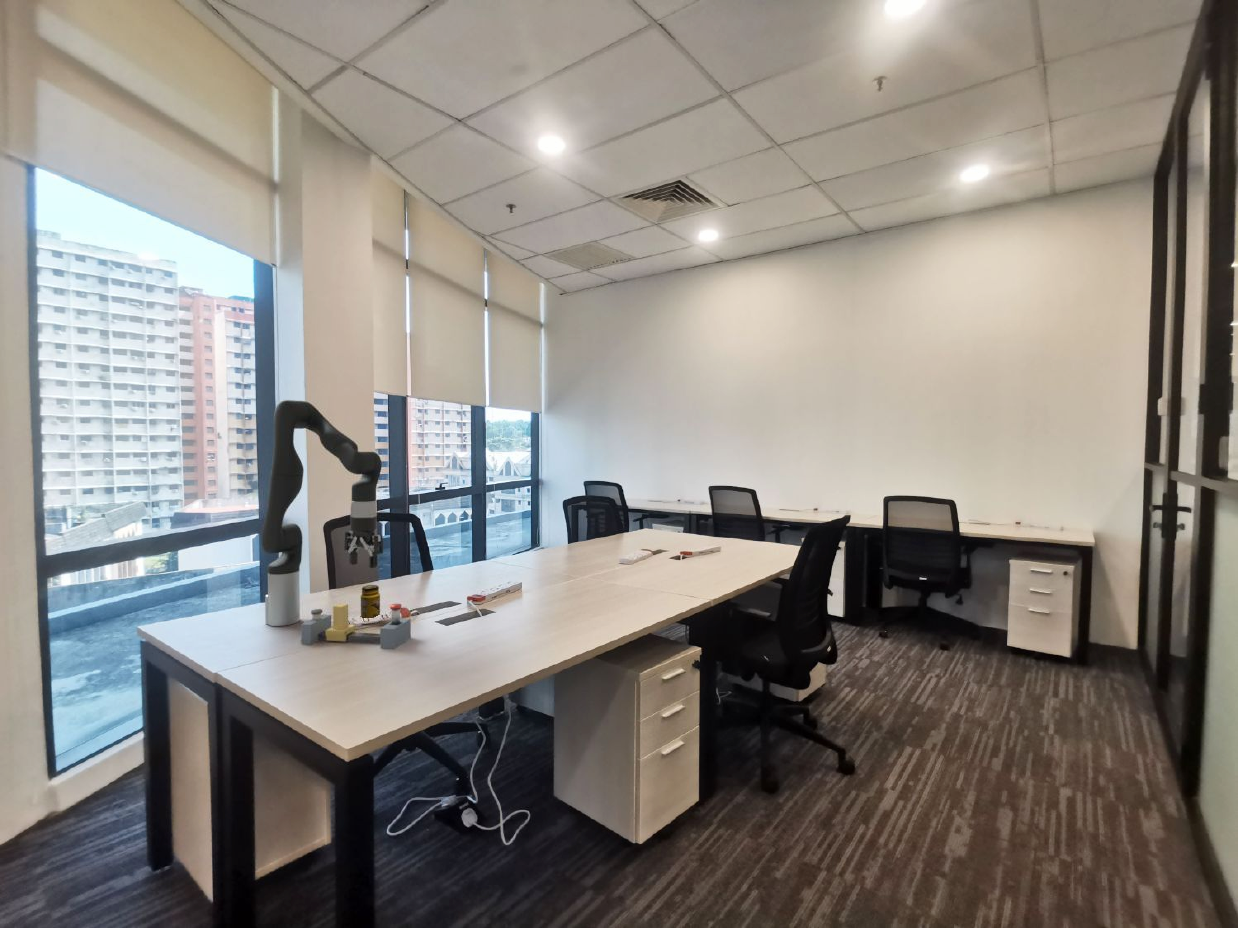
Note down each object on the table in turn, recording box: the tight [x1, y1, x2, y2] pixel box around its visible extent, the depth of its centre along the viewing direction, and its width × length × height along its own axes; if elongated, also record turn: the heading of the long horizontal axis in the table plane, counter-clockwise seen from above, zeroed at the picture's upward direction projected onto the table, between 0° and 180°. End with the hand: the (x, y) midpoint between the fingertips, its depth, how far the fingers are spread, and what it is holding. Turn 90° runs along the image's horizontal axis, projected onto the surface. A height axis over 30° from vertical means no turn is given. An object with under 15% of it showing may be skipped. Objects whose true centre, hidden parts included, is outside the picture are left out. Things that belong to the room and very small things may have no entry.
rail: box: [318, 631, 380, 645], centre depth 172 cm, size 22×3×2 cm, turn 83°
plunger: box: [389, 603, 402, 625], centre depth 171 cm, size 3×3×6 cm
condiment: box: [360, 584, 381, 618], centre depth 191 cm, size 7×8×12 cm
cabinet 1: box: [300, 608, 332, 645], centre depth 174 cm, size 3×10×9 cm, turn 173°
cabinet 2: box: [379, 617, 412, 650], centre depth 171 cm, size 4×10×6 cm, turn 173°
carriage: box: [326, 603, 357, 642], centre depth 173 cm, size 6×6×10 cm
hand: (363, 566), depth 177 cm, fingers open, 8 cm apart
